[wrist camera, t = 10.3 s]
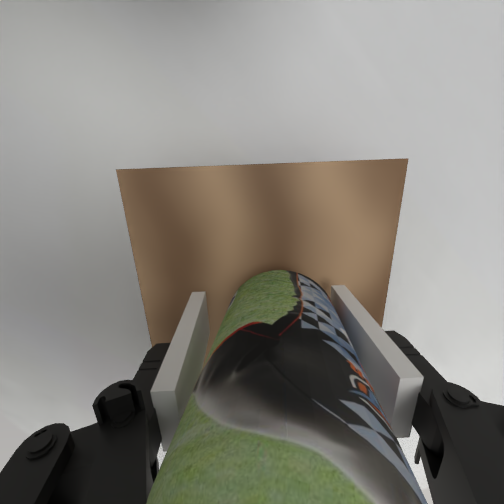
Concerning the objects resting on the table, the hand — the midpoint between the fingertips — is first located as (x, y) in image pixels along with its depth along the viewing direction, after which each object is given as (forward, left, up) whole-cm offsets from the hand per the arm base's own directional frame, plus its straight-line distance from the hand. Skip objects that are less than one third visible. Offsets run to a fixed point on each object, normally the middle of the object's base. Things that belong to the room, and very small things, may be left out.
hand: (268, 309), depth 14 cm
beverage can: (0, 0, -1) cm, 1 cm away
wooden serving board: (0, 0, -6) cm, 6 cm away
